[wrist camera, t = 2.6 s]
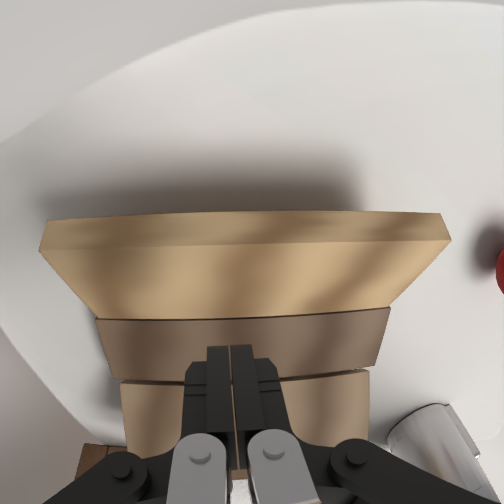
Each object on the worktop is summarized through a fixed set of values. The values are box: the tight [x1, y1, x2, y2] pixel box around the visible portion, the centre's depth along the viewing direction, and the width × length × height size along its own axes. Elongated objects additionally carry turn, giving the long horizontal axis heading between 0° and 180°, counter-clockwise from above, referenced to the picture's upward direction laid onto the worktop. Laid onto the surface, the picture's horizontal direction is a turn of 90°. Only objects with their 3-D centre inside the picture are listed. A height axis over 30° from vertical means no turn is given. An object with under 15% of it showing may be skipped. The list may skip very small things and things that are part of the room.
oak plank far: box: [120, 368, 369, 480], centre depth 24 cm, size 21×9×2 cm
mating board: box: [95, 306, 391, 381], centre depth 24 cm, size 22×6×2 cm, turn 89°
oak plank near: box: [39, 211, 452, 319], centre depth 18 cm, size 21×9×2 cm
